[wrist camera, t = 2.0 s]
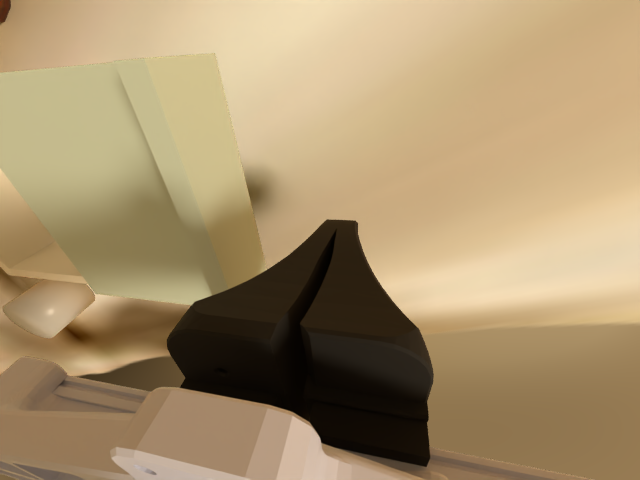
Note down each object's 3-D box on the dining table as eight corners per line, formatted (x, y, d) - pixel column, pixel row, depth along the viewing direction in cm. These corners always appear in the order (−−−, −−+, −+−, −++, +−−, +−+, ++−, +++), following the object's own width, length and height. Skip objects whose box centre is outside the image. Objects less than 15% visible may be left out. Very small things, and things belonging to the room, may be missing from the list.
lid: (275, 305, 18) (253, 357, 15) (104, 286, 21) (57, 326, 18) (214, 53, 10) (143, 57, 7) (-47, 77, 13) (-174, 87, 10)
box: (188, 250, 24) (149, 290, 21) (63, 241, 27) (8, 275, 23) (107, 64, 16) (17, 71, 13) (-57, 78, 19) (-172, 88, 15)
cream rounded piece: (103, 305, 33) (64, 341, 29) (69, 300, 34) (27, 334, 30) (78, 272, 30) (31, 307, 26) (42, 269, 31) (-9, 302, 27)
